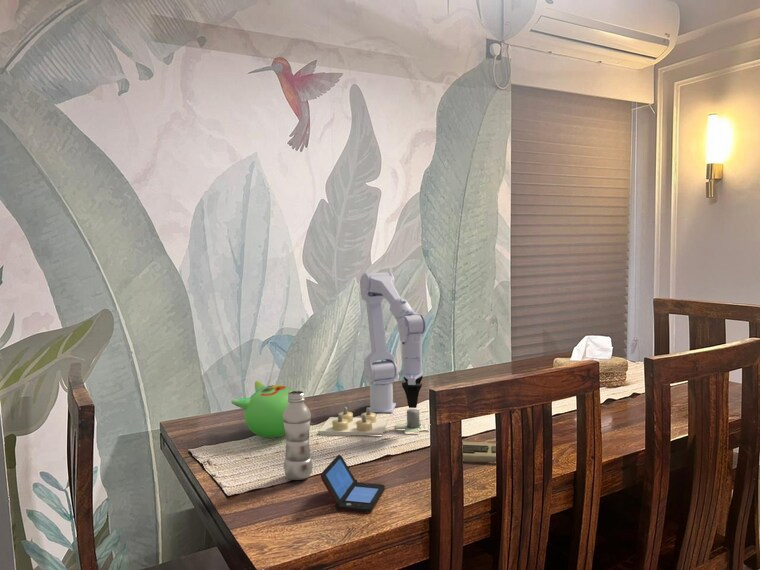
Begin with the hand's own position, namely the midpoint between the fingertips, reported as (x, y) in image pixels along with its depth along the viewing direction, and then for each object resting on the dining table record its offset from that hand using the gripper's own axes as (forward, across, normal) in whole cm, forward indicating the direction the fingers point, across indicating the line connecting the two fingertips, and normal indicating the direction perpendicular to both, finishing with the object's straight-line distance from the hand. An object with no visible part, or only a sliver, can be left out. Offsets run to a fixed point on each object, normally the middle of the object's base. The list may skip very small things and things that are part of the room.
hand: (413, 403), depth 165 cm
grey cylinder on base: (+8, 0, 0) cm, 8 cm away
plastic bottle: (+8, +35, -25) cm, 44 cm away
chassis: (+7, 0, -17) cm, 19 cm away
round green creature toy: (+8, +6, -40) cm, 41 cm away
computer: (+8, +21, +15) cm, 27 cm away
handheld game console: (+8, +45, -11) cm, 47 cm away
